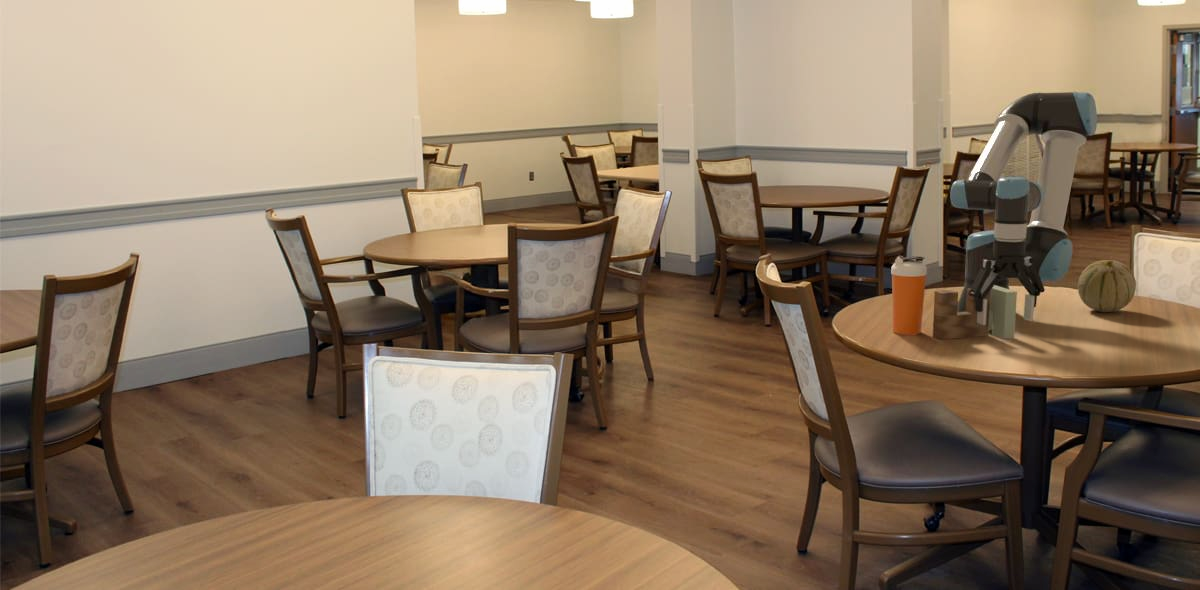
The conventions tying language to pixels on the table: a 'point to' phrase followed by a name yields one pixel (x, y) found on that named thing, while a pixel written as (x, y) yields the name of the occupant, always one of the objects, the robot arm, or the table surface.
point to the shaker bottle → (908, 294)
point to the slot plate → (1002, 312)
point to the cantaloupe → (1107, 286)
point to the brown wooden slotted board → (957, 316)
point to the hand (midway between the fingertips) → (1004, 322)
